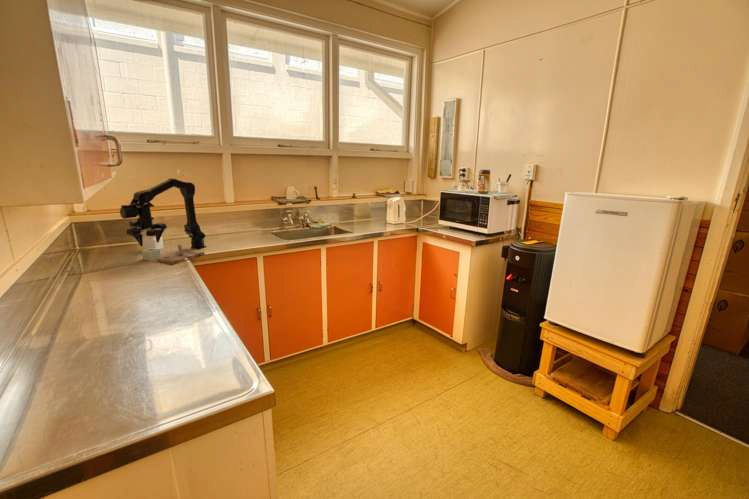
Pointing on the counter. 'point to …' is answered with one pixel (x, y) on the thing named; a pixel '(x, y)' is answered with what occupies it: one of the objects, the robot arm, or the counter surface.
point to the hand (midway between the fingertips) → (149, 244)
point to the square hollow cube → (151, 254)
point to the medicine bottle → (152, 240)
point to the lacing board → (180, 256)
